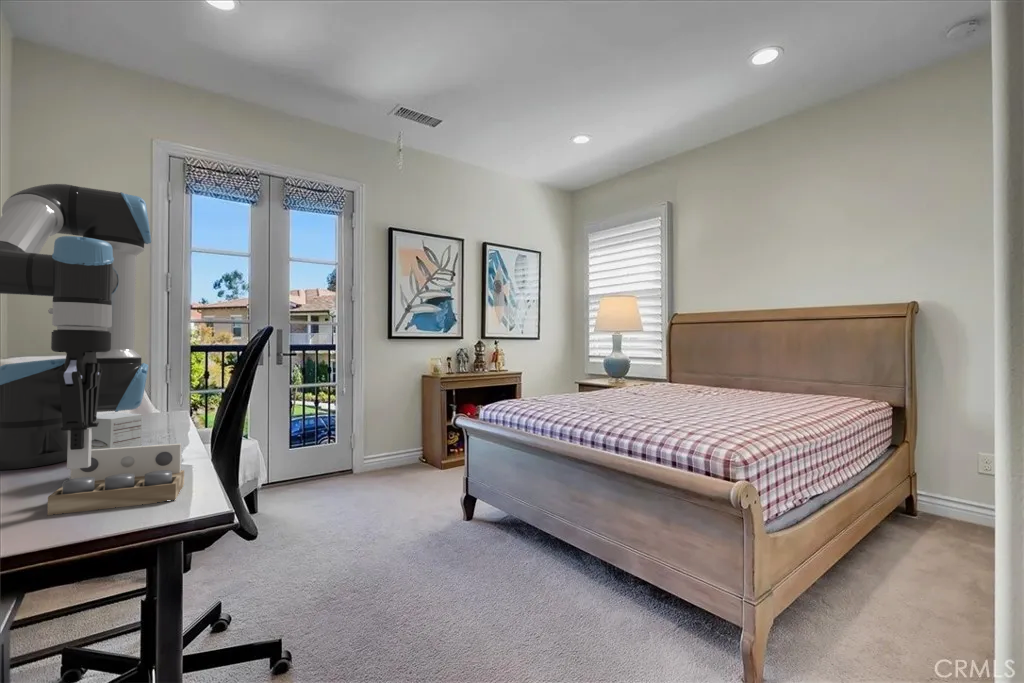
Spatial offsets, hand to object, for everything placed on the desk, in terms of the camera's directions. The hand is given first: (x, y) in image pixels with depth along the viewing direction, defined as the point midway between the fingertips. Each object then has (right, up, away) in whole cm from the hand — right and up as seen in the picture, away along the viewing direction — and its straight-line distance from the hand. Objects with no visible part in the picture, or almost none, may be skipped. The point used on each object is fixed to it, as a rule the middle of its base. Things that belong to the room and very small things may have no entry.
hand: (79, 467), depth 80 cm
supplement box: (-10, -7, +18) cm, 22 cm away
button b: (+5, -5, +3) cm, 7 cm away
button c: (+10, -4, +5) cm, 12 cm away
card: (+2, -4, +7) cm, 9 cm away
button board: (+4, -7, +4) cm, 9 cm away
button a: (0, -4, 0) cm, 4 cm away
